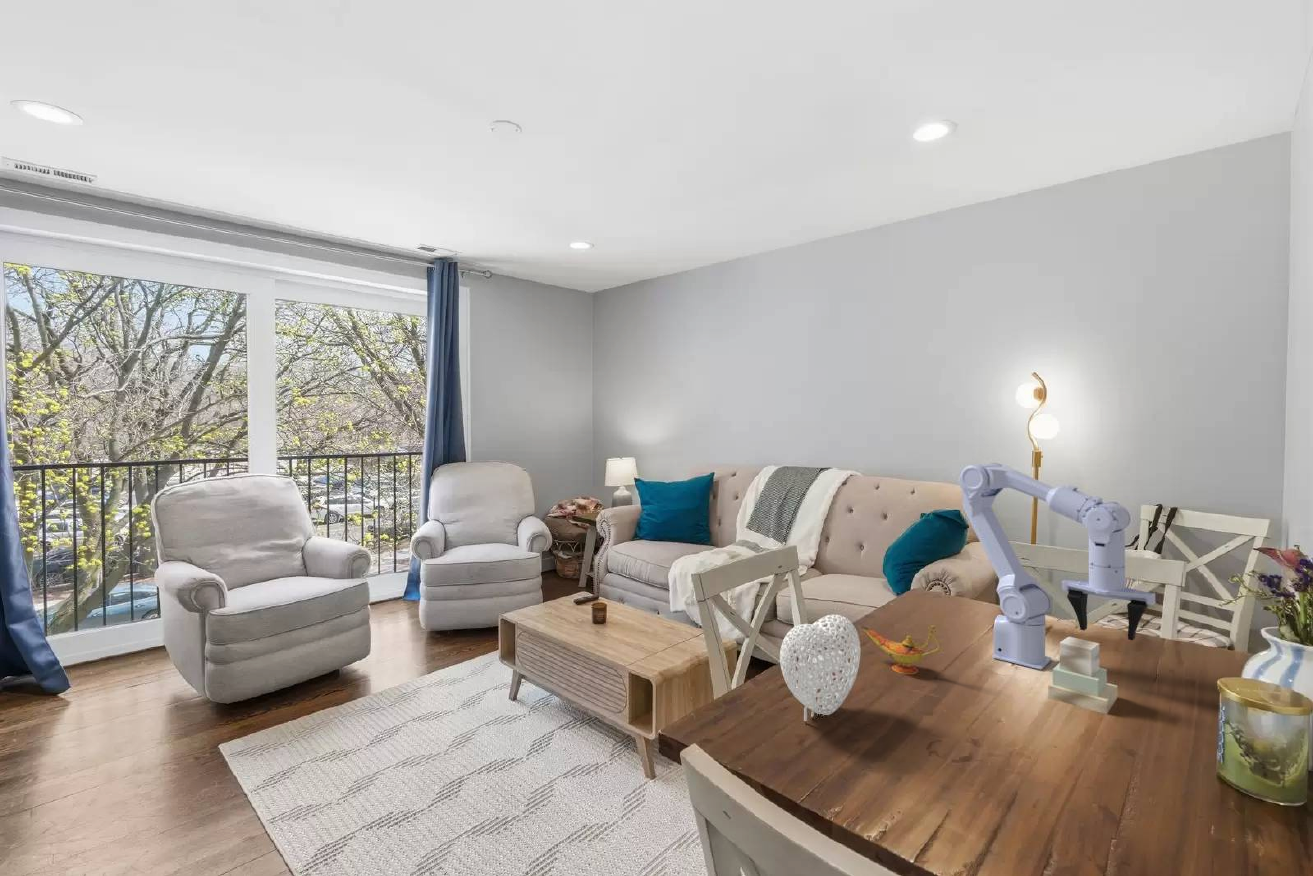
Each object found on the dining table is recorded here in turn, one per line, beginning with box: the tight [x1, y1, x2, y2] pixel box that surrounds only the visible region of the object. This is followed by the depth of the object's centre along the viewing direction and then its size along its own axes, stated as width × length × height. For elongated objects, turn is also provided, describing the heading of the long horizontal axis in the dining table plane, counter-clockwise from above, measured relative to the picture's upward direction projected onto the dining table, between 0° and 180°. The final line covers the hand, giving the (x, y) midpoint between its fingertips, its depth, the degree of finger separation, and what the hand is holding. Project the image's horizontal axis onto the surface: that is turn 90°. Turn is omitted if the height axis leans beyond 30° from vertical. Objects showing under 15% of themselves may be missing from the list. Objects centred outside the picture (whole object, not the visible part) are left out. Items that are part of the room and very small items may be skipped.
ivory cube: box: [1059, 636, 1100, 677], centre depth 113 cm, size 5×5×5 cm
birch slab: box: [1047, 680, 1118, 715], centre depth 113 cm, size 9×9×3 cm
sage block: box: [1052, 662, 1108, 697], centre depth 113 cm, size 7×7×3 cm
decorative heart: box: [779, 614, 861, 722], centre depth 108 cm, size 18×11×17 cm, turn 128°
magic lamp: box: [858, 625, 941, 675], centre depth 128 cm, size 7×18×11 cm, turn 41°
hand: (1106, 633), depth 118 cm, fingers open, 7 cm apart
